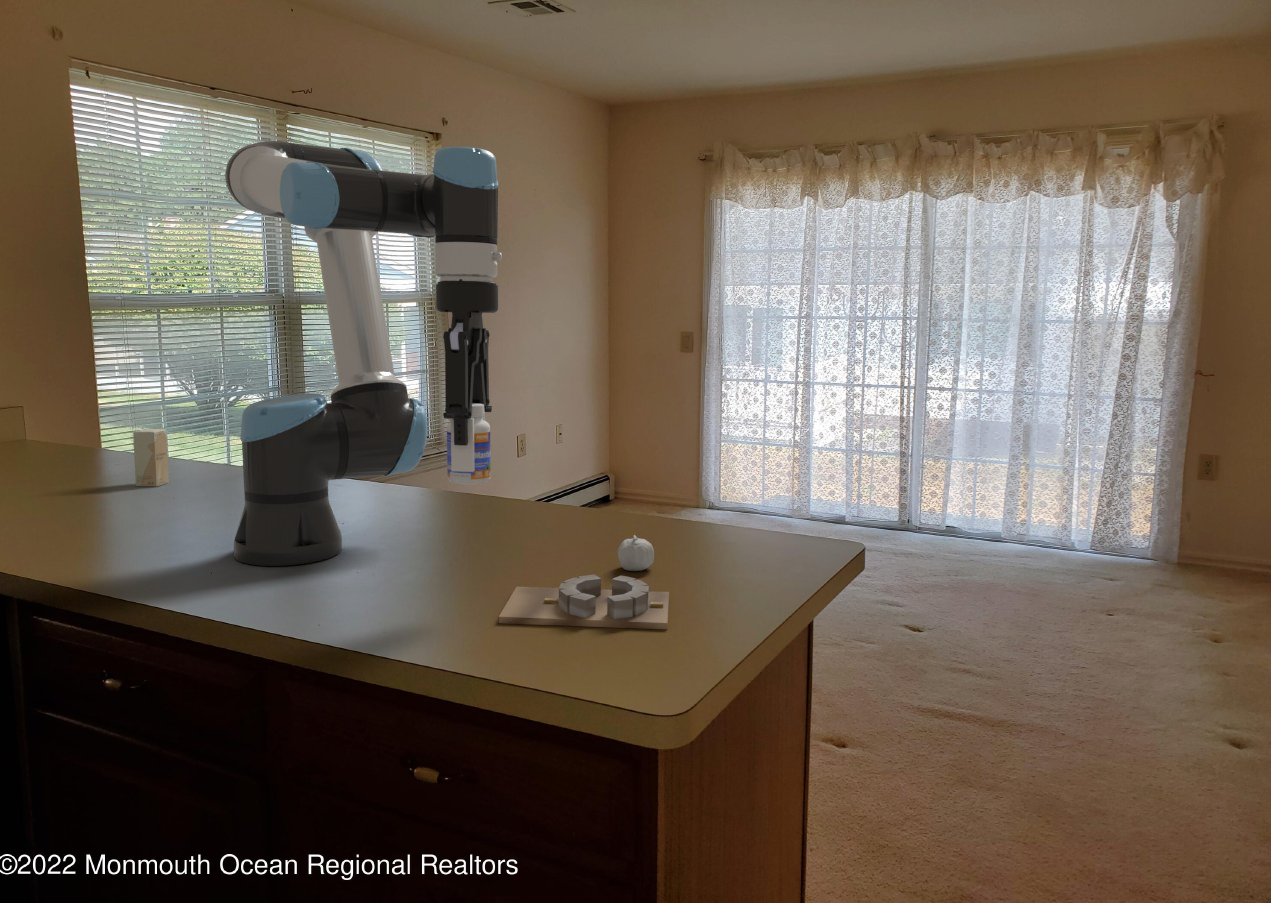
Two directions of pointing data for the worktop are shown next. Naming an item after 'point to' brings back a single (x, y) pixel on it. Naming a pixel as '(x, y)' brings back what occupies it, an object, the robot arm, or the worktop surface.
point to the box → (150, 457)
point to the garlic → (635, 554)
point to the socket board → (555, 616)
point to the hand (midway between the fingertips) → (469, 466)
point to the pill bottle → (480, 450)
